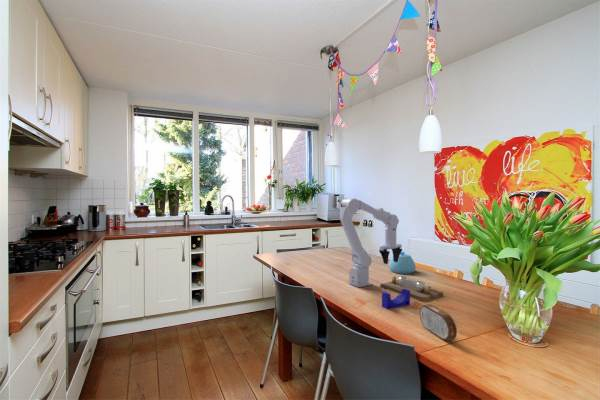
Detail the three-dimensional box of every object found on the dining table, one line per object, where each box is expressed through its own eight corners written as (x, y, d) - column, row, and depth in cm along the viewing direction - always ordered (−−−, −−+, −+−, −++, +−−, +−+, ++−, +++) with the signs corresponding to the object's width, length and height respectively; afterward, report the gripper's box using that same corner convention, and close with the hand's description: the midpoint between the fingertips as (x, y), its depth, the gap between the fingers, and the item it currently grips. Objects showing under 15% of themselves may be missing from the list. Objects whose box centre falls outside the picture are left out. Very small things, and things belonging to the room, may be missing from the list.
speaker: (457, 344, 91) (457, 317, 91) (448, 345, 91) (448, 318, 90) (425, 324, 106) (426, 300, 106) (418, 324, 105) (418, 300, 105)
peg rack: (423, 301, 128) (423, 291, 128) (380, 287, 148) (380, 277, 148) (442, 295, 135) (442, 285, 135) (399, 282, 155) (399, 273, 155)
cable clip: (402, 301, 128) (402, 287, 128) (410, 305, 124) (410, 290, 124) (379, 305, 124) (379, 291, 123) (387, 309, 119) (387, 294, 119)
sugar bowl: (419, 274, 171) (419, 254, 171) (392, 274, 171) (392, 254, 171) (410, 268, 186) (410, 249, 186) (386, 268, 186) (385, 249, 186)
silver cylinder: (397, 285, 146) (397, 277, 146) (402, 284, 148) (402, 276, 148) (421, 293, 134) (421, 284, 134) (426, 291, 136) (426, 282, 136)
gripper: (386, 239, 151) (386, 266, 152) (406, 236, 159) (406, 262, 159) (376, 237, 157) (376, 263, 158) (395, 235, 165) (395, 260, 165)
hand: (390, 262), depth 159 cm, fingers open, 7 cm apart
